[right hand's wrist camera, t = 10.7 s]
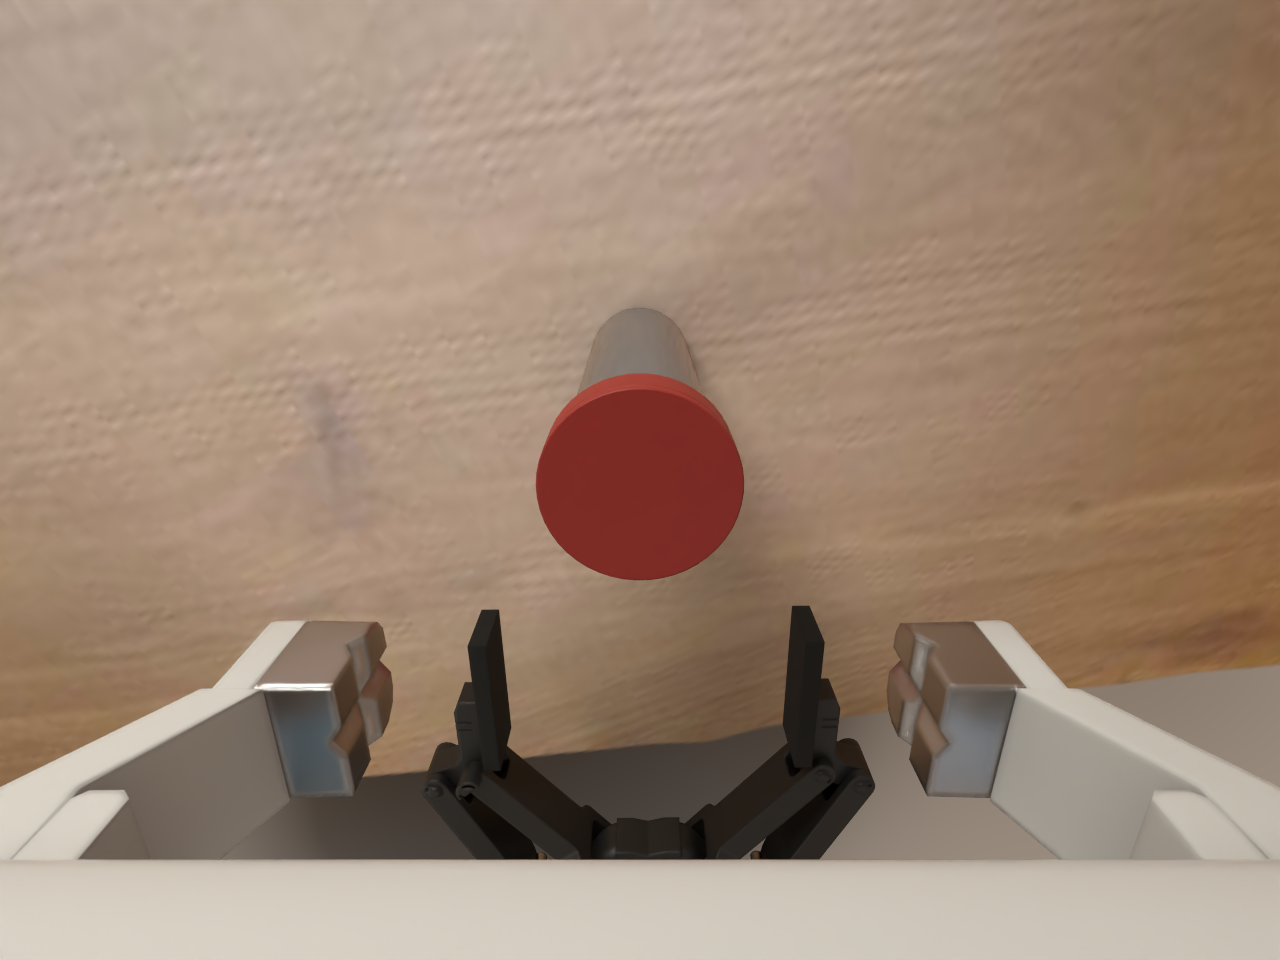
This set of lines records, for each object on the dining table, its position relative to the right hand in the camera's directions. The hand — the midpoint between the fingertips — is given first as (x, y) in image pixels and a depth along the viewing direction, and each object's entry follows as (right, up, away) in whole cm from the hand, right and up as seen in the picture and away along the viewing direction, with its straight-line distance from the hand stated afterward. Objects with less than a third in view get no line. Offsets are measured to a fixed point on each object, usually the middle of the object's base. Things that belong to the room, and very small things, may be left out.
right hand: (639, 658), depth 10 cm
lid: (0, +3, +7) cm, 7 cm away
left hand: (0, -3, +19) cm, 19 cm away
